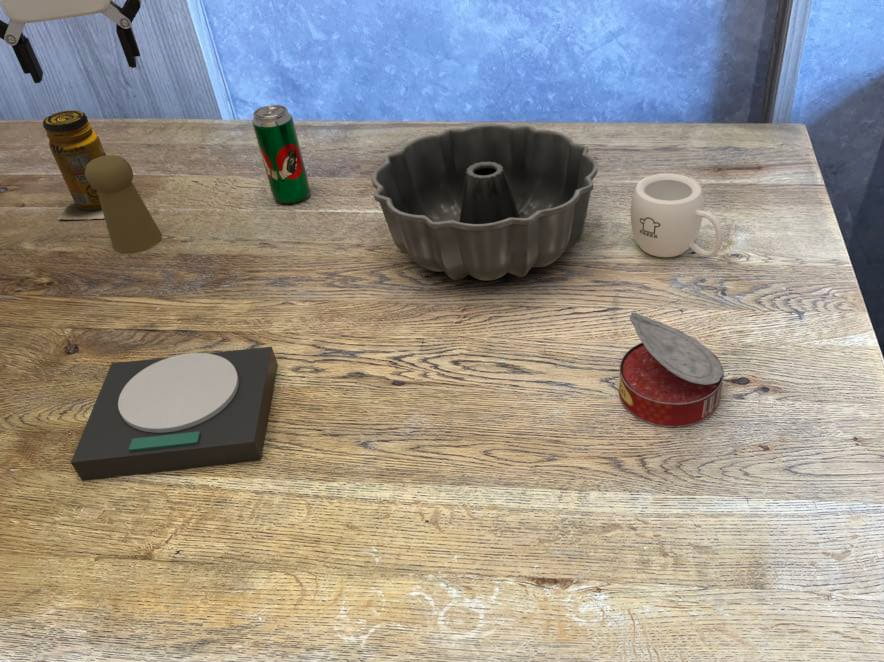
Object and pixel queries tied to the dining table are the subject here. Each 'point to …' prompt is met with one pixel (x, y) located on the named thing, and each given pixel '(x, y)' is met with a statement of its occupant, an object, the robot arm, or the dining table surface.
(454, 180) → the bundt pan
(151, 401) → the scale
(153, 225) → the cork
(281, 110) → the soda can
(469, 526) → the dining table surface
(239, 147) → the dining table surface
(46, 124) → the condiment
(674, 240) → the mug
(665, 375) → the canned food
